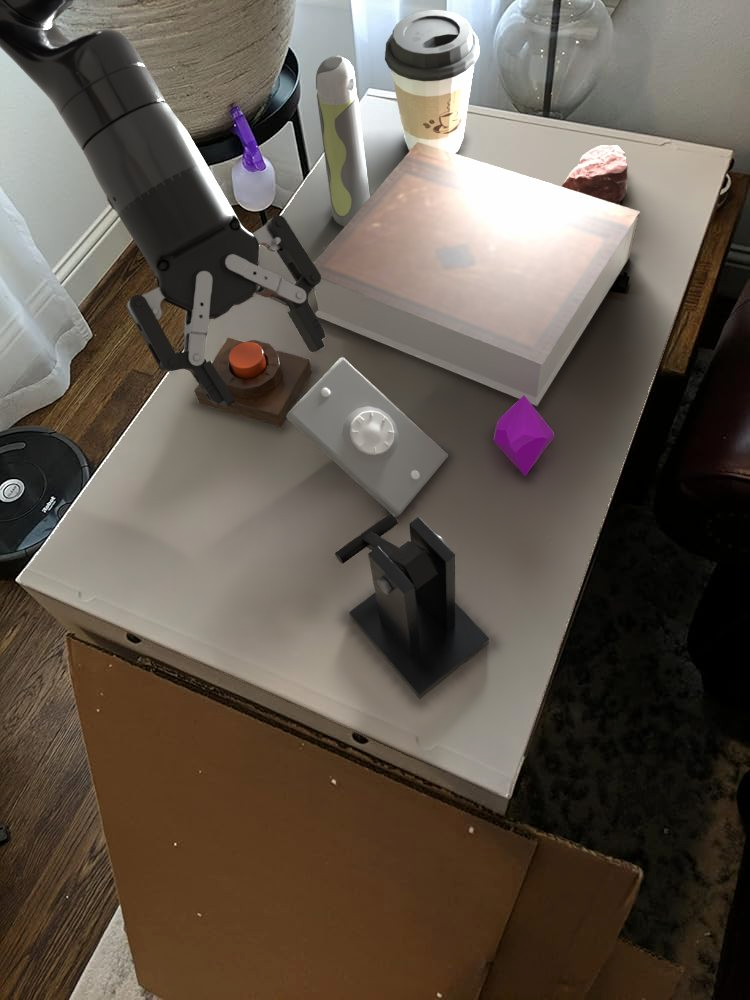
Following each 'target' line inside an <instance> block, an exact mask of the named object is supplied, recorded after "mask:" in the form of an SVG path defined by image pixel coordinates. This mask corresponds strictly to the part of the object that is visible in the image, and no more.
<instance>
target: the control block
mask: <svg viewBox="0 0 750 1000" xmlns="http://www.w3.org/2000/svg"><path fill="white" fill-rule="evenodd" d="M244 342H252V343H256V344H258V345H259V346H260V347H261V348H262V350H263V353H264V357H265V360H266V367H265V369H264V371H263V372H262V373H261V374H260V375H259V376H257V377H255V378H251V379H243V378H240V377H238V376H236V375H235V374H234V372H233V370H232V367H231V364H230V361H229V354H230V352H231V350H232V349H233V348H234V347H235V346H237V345H238V344H241V343H244ZM211 363H212V364H213V366H214V367H215V369H216V371H217V372H218V374H219V376H220V377H221V379H222V380H223V382H224V384H225V385H226V387H227V388H228V390H229V392H230V393H231V395H232V396H233V398H234V400H235V403H234V404H232V405H231V406H229V407H228V408H224V407H223V406H222V405H221V404H220V403H219V404H213V403H212V402H210V401H209V400H208V398H207V397H206V395H205V393H204V392H203V390H202V389H201V387H200V386H199V384H198V383H197V386H196V388H195V389H194V391H193V392H194V395H195V397H196V400H197V402H198V404H199V405H202V406H206V407H208V408H212V409H215V410H220V411H223V412H225V413H226V412H227V413H230V414H233V415H237V416H241V417H243V418H246V419H251V420H254V421H258V422H260V423H264V424H268V425H270V426H275V427H278V428H283V426H284V424H285V423H286V421H287V420H288V419H287V417H286V416H287V414H288V412H289V411H290V410H291V409H292V408H293V407H294V406H295V405H296V403H297V400H298V399H299V397H300V395H301V393H302V391H303V390H304V388H305V386H306V384H307V382H308V381H309V379H310V377H311V375H312V373H313V369H312V364H311V359H310V358H308V357H304V356H300V355H296V354H293V353H288V352H285V351H281V350H278V349H275V348H274V347H273V346H272V345H271V343H268V342H264V341H260V340H256V339H252V340H251V339H250V340H245V341H243V340H241V339H240V340H239V339H236V338H231V337H226V340H225V341H224V343H223V344H222V346H221V348H220V350H219V351H218V353H217V354H216V355H215V357H214V359H213V360H212V361H211Z"/></svg>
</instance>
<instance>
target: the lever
mask: <svg viewBox="0 0 750 1000" xmlns="http://www.w3.org/2000/svg"><path fill="white" fill-rule="evenodd" d="M398 525H399V521H398V519H397V517H396V516H394V515H393V514H392V513H390V512H389V513H388V514H386V515H385V516H384V517H382V518H381V519H379V520H378V521H377V522H375V523H374V524H372V525H371V526H370V527H368V528H367V529H366V530H364V531H362V532H361V533H360V534H358V535H357V536H356V537H354V538H353V539H352V540H350V541H349V542H347V543H346V544H345V545H344V546H342V547H340V548H339V549H338V550H336V551H335V552H334V556H335V558H336V559H337V561H338V562H339V563H340V564H341V565H344V564H345V563H347V562H348V561H350V560H351V559H353V558H354V557H356V555H358V554H359V553H360V552H362V551H363V550H365V549H368V550H370V551H372V550H373V549H375V548H376V547H377V546H378V547H379V548H380V549H381V550H382V551H383V552H384V553H385V554H386V555H387V556H388V557H389V559H390V560H391V561H392V562H393V563H394V564H395V565H396V566H397V567H398V568H399V569H400V570H401V572H402V573H403V574H404V575H405V576H406V577H407V578H408V579H409V580H410V581H411V582H412V584H413V585H414V586H415V589H416V590H417V589H418V588H420V587H421V586H422V585H424V584H425V583H426V582H428V581H429V580H430V579H432V578H433V577H434V576H436V575H437V574H438V572H437V570H436V568H435V566H434V564H433V562H432V560H431V558H430V556H429V554H428V552H427V550H426V549H424V548H422V547H420V546H418V545H416V544H414V543H412V542H411V541H410V540H407V541H406V542H404V543H402V545H400V546H398V545H396V544H394V543H392V542H391V541H389V540H387V539H385V538H384V537H383V536H384V535H386V534H387V533H388V532H389V531H391V530H392V529H394V528H395V527H396V526H398Z"/></svg>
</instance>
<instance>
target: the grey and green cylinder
mask: <svg viewBox="0 0 750 1000" xmlns="http://www.w3.org/2000/svg"><path fill="white" fill-rule="evenodd" d="M356 86H357V84H356V76H355V70H354V66H353V65H352V64H351V62H350V61H349V60H348V59H347V58H344V57H342V56H341V55H333V56H330V57H327V58H326V59H324V60H323V61H322V62H320V65H319V66H318V68H317V70H316V74H315V90H317V93H316V100H317V108H318V115H319V116H318V117H319V124H320V130H321V140H322V145H323V146H322V147H323V154H324V161H325V169H326V175H327V184H328V191H329V200H330V206H331V214H332V218H333V220H334V221H335V222H336V223H337V224H339V225H340V226H343V227H345V226H346V225H347V224H348V223H349V221H350V220H351V219H352V218H353V217H354V215H355V214H356V213H357V212H358V211H359V210H360V208H361V207H362V206H363V205H364V204H365V203H366V201H367V200H368V199H369V198H370V197H371V195H370V187H369V185H370V184H369V178H368V170H367V160H366V153H365V144H364V136H363V128H362V120H361V111H360V104H359V103H360V102H359V97H358V94H357V87H356Z"/></svg>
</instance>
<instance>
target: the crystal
mask: <svg viewBox="0 0 750 1000" xmlns="http://www.w3.org/2000/svg"><path fill="white" fill-rule="evenodd" d="M554 438H555V433H554V431H553V429H552V428H551V427H550V426H549V425H548V424H547V422H546V421H545V419H544V418H543V417H542V416H541V414H540V413H539V412H538V411H537V410H536V408H535V407H534V405H533V404H531V403H530V402H529V401H528V399H527V398H526V397H525V395H523V396H522V397H521V398H520V399H519V398H518V400H517V401H516V402H515V403H514V404H513V405H512V406H511V407H510V408H509V409H508V410H507V411H506V412H505V413H504V414H503V415H502V416H500V417H499V419H497V423H496V426H495V428H494V434H493V442H494V443H495V445H497V447H498V448H499V449H500V450H501V451H502V452H503V453H504V455H506V457H507V458H508V459H509V461H510V462H511V463H512V464H513V465H514V466H515V467H516V468H517V469H518V470H519V471H520V473H521V474H522V475H523V476H524V477H526V476H527V475H528V473H529V472H530V470H531V469H532V468H533V466H534V465H535V464H536V462H537V461H538V460H539V458H540V457H541V455H542V454H543V453H544V451H545V450H546V449H547V447H548V446H549V445H550V444H551V442H552V441H553V439H554Z"/></svg>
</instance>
